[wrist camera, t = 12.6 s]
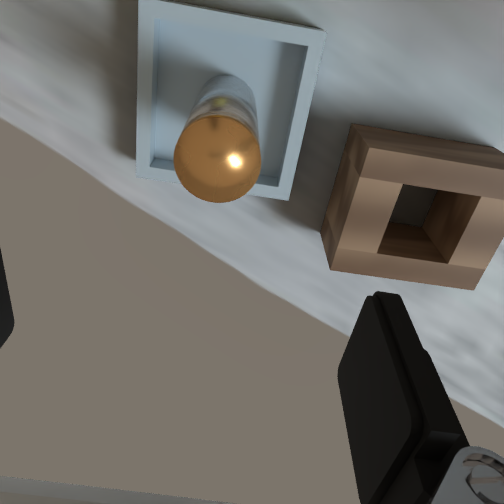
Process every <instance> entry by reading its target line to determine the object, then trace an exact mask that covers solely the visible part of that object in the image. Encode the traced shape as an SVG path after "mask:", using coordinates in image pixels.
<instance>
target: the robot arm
mask: <svg viewBox="0 0 504 504" xmlns="http://www.w3.org/2000/svg"><path fill="white" fill-rule="evenodd" d="M13 327H14V316H13V311H12V306H11V301H10V295H9V291H8V286H7V280H6V275H5V270H4V265H3V260H2V254H1V249H0V348H1V347H2V345H3V344H4V343H5V341H6V340H7V339H8V337H9V336H10V334H11V333H12V331H13ZM338 383H339V388H340V394H341V400H342V405H343V411H344V417H345V422H346V428H347V432H348V438H349V444H350V449H351V455H352V461H353V466H354V472H355V477H356V483H357V488H358V494H359V499H360V503H361V504H504V458H503V457H502V456H500V455H498V454H496V453H495V452H493V451H491V450H488V449H485V448H482V447H477V446H470V445H469V443H468V441H467V438H466V436H465V434H464V431H463V429H462V427H461V425H460V423H459V420H458V418H457V416H456V413H455V411H454V409H453V407H452V404H451V402H450V400H449V398H448V395H447V393H446V391H445V389H444V386H443V384H442V382H441V380H440V377H439V375H438V373H437V371H436V368H435V366H434V364H433V362H432V359H431V357H430V355H429V354H428V352H427V351H426V350H425V349H423V347H422V344H421V342H420V340H419V338H418V335H417V333H416V331H415V328H414V326H413V324H412V321H411V319H410V317H409V314H408V312H407V310H406V308H405V305H404V303H403V301H402V298H401V297H400V295H398V294H393V293H387V292H380V291H377V292H375V293H374V295H373V296H367V297H366V299H365V301H364V304H363V306H362V309H361V312H360V314H359V317H358V319H357V322H356V324H355V327H354V329H353V332H352V334H351V337H350V339H349V342H348V344H347V347H346V349H345V352H344V354H343V357H342V359H341V362H340V364H339V367H338ZM0 504H235V503H227V502H218V501H210V500H202V499H194V498H186V497H177V496H169V495H160V494H152V493H143V492H135V491H126V490H118V489H109V488H100V487H92V486H84V485H74V484H66V483H57V482H49V481H40V480H32V479H23V478H14V477H5V476H0Z"/></svg>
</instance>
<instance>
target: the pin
mask: <svg viewBox="0 0 504 504" xmlns="http://www.w3.org/2000/svg"><path fill="white" fill-rule="evenodd" d="M173 162H174V168H175V172H176V174H177V177H178V179H179V180H180V182H181V184H182V185H183V186H184V187H185V188H186V189H187V190H188V191H189V192H190V193H191V194H193V195H194V196H196V197H198V198H200V199H202V200H205V201H209V202H215V203H224V202H230V201H233V200H236V199H238V198H240V197H242V196H243V195H245V194H246V193H247V192H248V191H249V190H250V189H251V188H252V187H253V186H254V184H255V183H256V181H257V179H258V177H259V174H260V170H261V152H260V141H259V130H258V120H257V109H256V100H255V96H254V94H253V91H252V90H251V88H250V87H249V85H248V84H247V83H246V82H244V81H243V80H242V79H240V78H238V77H236V76H232V75H219V76H216V77H214V78H212V79H210V80H209V81H207V82H206V83H205V84H204V86H203V87H202V89H201V90H200V92H199V95H198V97H197V99H196V101H195V103H194V106H193V108H192V110H191V112H190V115H189V117H188V119H187V121H186V123H185V126H184V128H183V130H182V132H181V135H180V137H179V139H178V141H177V144H176V146H175V150H174V156H173Z"/></svg>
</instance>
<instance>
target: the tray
mask: <svg viewBox="0 0 504 504" xmlns="http://www.w3.org/2000/svg"><path fill="white" fill-rule="evenodd" d="M326 35H327V32H326V31H324V30H323V29H320V28H315V27H310V26H304V25H299V24H294V23H288V22H283V21H278V20H272V19H267V18H262V17H257V16H251V15H246V14H241V13H235V12H230V11H225V10H219V9H214V8H209V7H203V6H198V5H193V4H187V3H182V2H177V1H172V0H138V65H137V130H136V177H138V178H144V179H151V180H157V181H164V182H170V183H177V184H181V182H180V180H179V179H178V177H177V174H176V172H175V168H174V162H173V156H174V150H175V146H176V144H177V141H178V139H179V137H180V135H181V132H182V130H183V128H184V126H185V123H186V121H187V119H188V117H189V115H190V112H191V110H192V108H193V106H194V103H195V101H196V99H197V97H198V95H199V92H200V90H201V89H202V87H203V86H204V84H205V83H206V82H207V81H209V80H210V79H212V78H214V77H216V76H219V75H232V76H236V77H238V78H240V79H242V80H243V81H244V82H246V83H247V84H248V85H249V87H250V88H251V90H252V91H253V94H254V96H255V100H256V109H257V120H258V130H259V141H260V152H261V170H260V174H259V177H258V179H257V181H256V183H255V184H254V186H253V187H252V188H251V189H250V190H249V191H248V192H247V193H246V194H248V195H255V196H261V197H268V198H274V199H281V200H287V201H289V196H290V192H291V188H292V183H293V179H294V175H295V170H296V166H297V161H298V157H299V153H300V148H301V144H302V140H303V135H304V131H305V127H306V122H307V118H308V114H309V109H310V105H311V101H312V96H313V92H314V88H315V83H316V79H317V75H318V70H319V66H320V62H321V57H322V53H323V48H324V44H325V40H326Z"/></svg>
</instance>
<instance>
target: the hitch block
mask: <svg viewBox="0 0 504 504" xmlns="http://www.w3.org/2000/svg"><path fill="white" fill-rule="evenodd" d="M403 184H407V185H413V186H419V187H425V188H432V189H438V191H437V194H436V196H435V198H434V200H433V203H432V205H431V207H430V210H429V212H428V214H427V217H426V219H425V221H424V224H423V226H422V227H418V226H412V225H405V224H398V223H392V222H389V219H390V217H391V214H392V211H393V209H394V206H395V203H396V201H397V198H398V196H399V193H400V190H401V188H402V185H403ZM320 234H321V238H322V242H323V245H324V249H325V253H326V257H327V260H328V264H329V268H330V270H333V271H340V272H347V273H354V274H361V275H368V276H375V277H382V278H389V279H396V280H403V281H410V282H418V283H425V284H432V285H439V286H446V287H453V288H460V289H467V290H474V289H475V287H476V286H477V284H478V282H479V280H480V278H481V277H482V275H483V273H484V271H485V269H486V268H487V266H488V264H489V262H490V261H491V259H492V257H493V255H494V253H495V252H496V250H497V248H498V246H499V244H500V243H501V241H502V239H503V237H504V153H502V152H501V151H499V150H498V149H496V148H493V147H487V146H481V145H475V144H469V143H464V142H458V141H452V140H446V139H440V138H434V137H429V136H423V135H417V134H411V133H405V132H399V131H393V130H388V129H382V128H376V127H370V126H364V125H358V124H351V127H350V131H349V134H348V138H347V141H346V145H345V148H344V152H343V155H342V159H341V162H340V166H339V169H338V173H337V176H336V180H335V183H334V186H333V190H332V193H331V197H330V200H329V204H328V207H327V211H326V214H325V218H324V221H323V225H322V228H321V232H320Z"/></svg>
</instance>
